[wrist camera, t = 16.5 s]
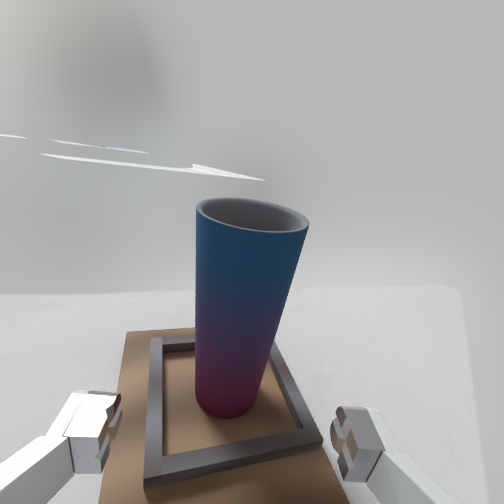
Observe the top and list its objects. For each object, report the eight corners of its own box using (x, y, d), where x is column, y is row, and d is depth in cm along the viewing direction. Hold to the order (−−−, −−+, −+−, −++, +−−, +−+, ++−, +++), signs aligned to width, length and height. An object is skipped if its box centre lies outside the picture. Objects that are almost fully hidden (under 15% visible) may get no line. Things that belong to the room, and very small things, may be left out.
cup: (164, 396, 22) (170, 205, 16) (218, 347, 27) (238, 193, 21) (237, 451, 19) (279, 243, 13) (281, 384, 24) (324, 217, 18)
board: (376, 585, 15) (390, 565, 14) (68, 717, 10) (60, 700, 10) (260, 331, 32) (264, 315, 31) (127, 341, 28) (126, 323, 27)
